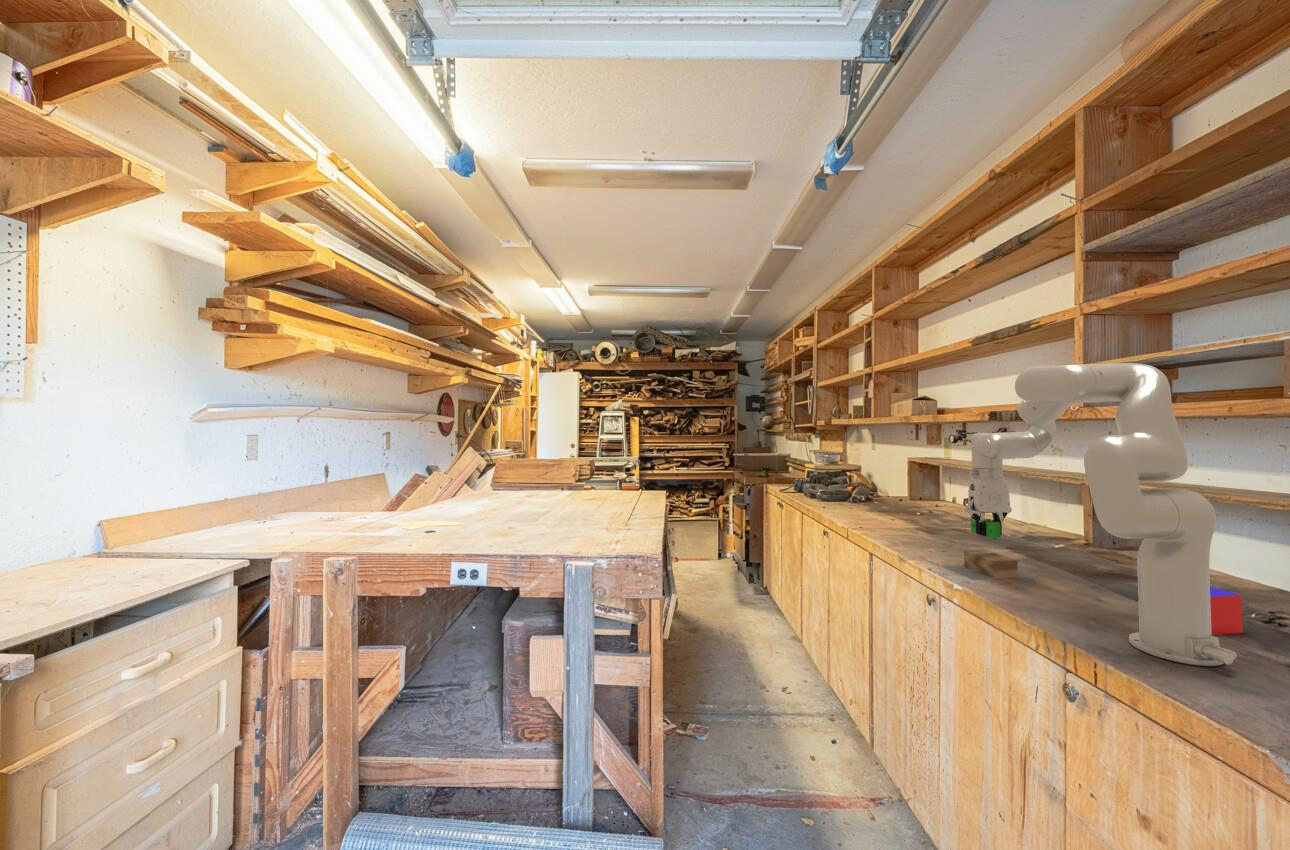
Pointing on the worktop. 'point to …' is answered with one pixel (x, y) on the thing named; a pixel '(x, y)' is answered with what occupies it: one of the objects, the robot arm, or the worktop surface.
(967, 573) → the mat
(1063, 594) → the worktop surface
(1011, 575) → the base brick
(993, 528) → the green notched block
